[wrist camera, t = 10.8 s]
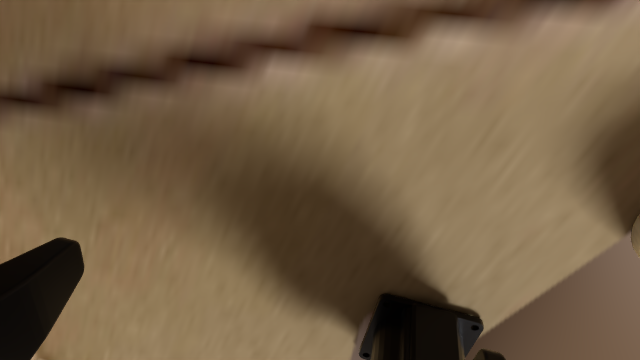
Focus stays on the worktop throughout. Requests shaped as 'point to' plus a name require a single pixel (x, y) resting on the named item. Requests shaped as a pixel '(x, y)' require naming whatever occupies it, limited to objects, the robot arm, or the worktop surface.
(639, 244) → the white rounded cube
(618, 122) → the worktop surface
